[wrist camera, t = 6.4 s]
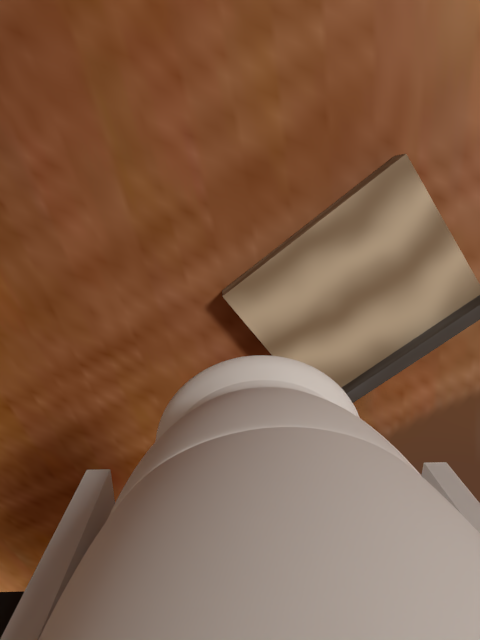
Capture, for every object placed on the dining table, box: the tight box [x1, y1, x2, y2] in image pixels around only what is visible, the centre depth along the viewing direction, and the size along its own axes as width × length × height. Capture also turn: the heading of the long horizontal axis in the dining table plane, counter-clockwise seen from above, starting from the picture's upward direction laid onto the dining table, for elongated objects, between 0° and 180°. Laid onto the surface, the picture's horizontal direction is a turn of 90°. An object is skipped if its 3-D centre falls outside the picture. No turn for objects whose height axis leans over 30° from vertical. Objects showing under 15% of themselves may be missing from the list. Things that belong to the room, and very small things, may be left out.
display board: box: [222, 154, 480, 403], centre depth 32 cm, size 15×18×3 cm
